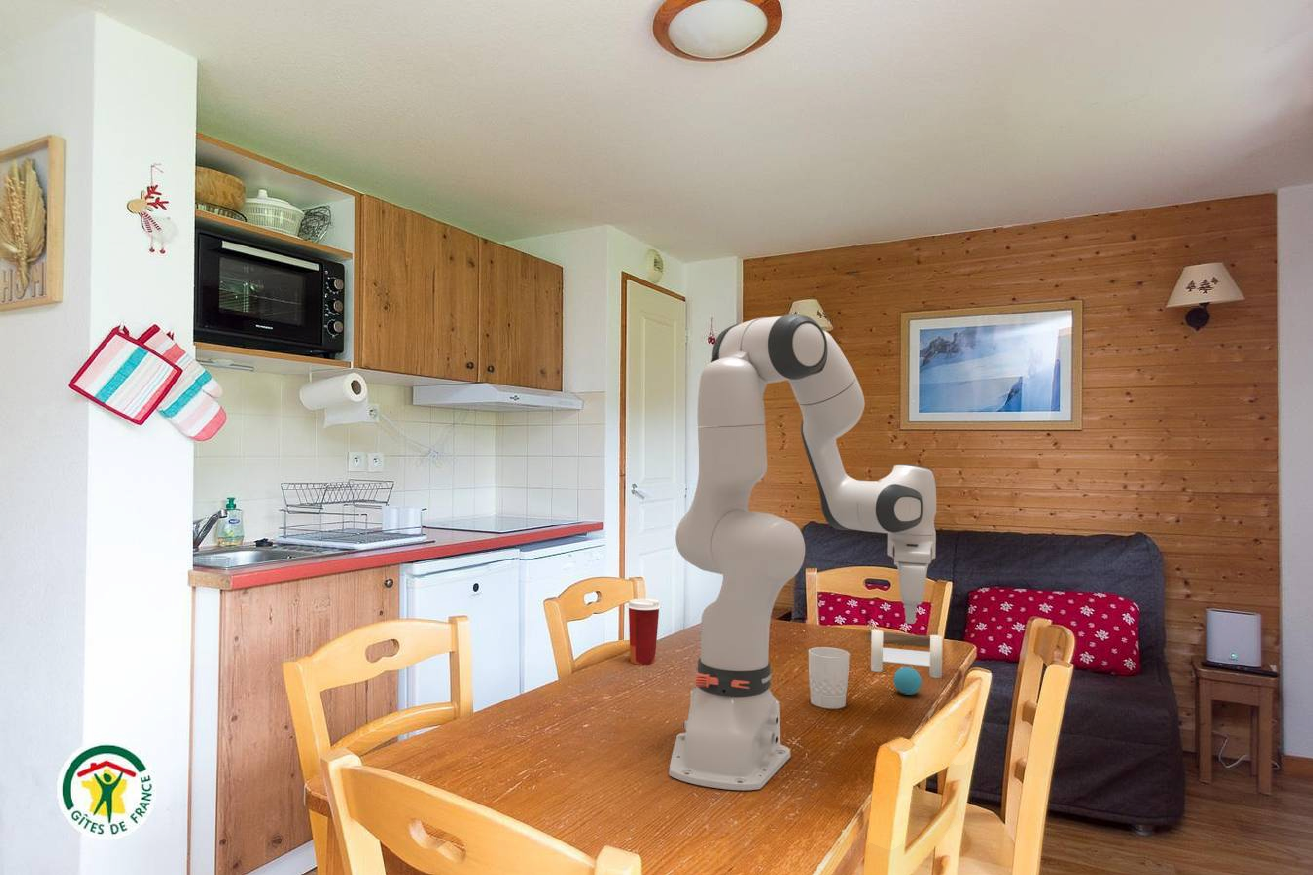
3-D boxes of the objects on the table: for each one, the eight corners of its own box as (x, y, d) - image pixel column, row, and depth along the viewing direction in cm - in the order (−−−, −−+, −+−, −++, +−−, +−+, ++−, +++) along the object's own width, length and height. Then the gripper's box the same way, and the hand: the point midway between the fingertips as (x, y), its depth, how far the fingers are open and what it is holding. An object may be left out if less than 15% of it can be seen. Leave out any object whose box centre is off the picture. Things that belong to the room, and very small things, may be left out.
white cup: (849, 711, 143) (850, 658, 143) (807, 707, 145) (808, 655, 145) (847, 698, 151) (848, 648, 151) (807, 695, 152) (808, 645, 152)
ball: (922, 699, 151) (922, 672, 151) (893, 696, 153) (893, 669, 153) (921, 691, 156) (921, 665, 157) (893, 688, 158) (893, 662, 158)
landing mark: (936, 667, 175) (936, 666, 175) (874, 661, 180) (874, 660, 180) (933, 653, 189) (933, 652, 189) (875, 647, 193) (875, 646, 193)
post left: (882, 672, 170) (883, 632, 170) (870, 671, 171) (871, 631, 171) (882, 669, 173) (883, 630, 173) (871, 668, 173) (871, 628, 174)
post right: (942, 678, 166) (942, 637, 167) (929, 677, 167) (930, 636, 167) (941, 675, 169) (942, 635, 169) (929, 674, 170) (929, 634, 170)
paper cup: (665, 661, 175) (667, 600, 175) (647, 668, 168) (649, 605, 169) (637, 655, 179) (639, 596, 179) (618, 662, 173) (620, 601, 173)
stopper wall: (940, 648, 194) (940, 638, 194) (868, 641, 199) (868, 631, 199) (940, 646, 196) (940, 636, 196) (868, 639, 201) (868, 630, 201)
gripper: (894, 541, 157) (892, 608, 157) (894, 553, 138) (893, 629, 137) (926, 543, 155) (924, 611, 155) (931, 555, 136) (929, 632, 135)
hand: (909, 619), depth 146 cm, fingers open, 5 cm apart
